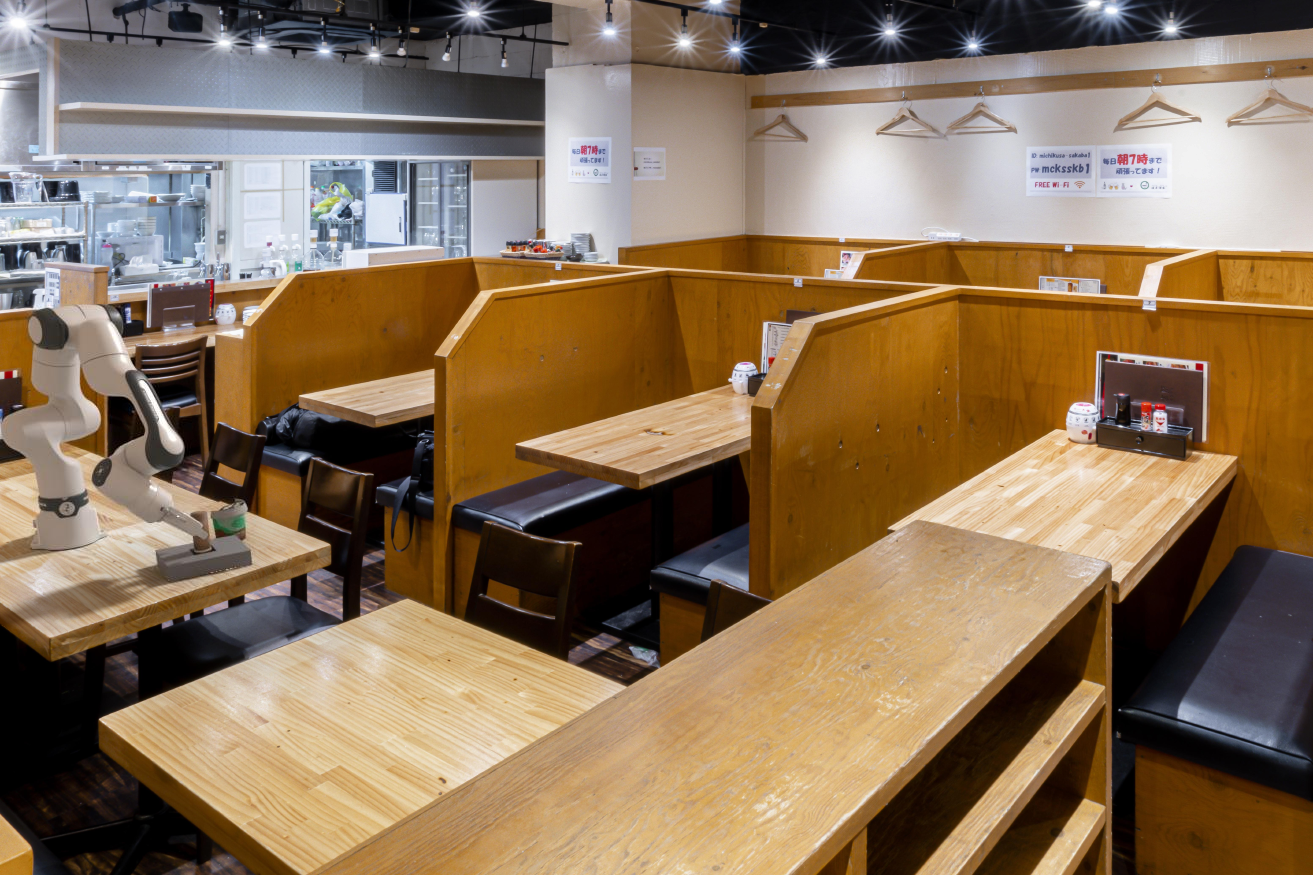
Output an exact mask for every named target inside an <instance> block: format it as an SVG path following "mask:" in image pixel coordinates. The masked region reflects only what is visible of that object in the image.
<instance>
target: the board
mask: <svg viewBox="0 0 1313 875" xmlns="http://www.w3.org/2000/svg"><path fill="white" fill-rule="evenodd" d="M210 543H211V552H209V553H204V554H199V555H195V552H194V543H193V542H190V543H186V544H181V545H175V546H170V547H165V548H159V549H155V558H156V565H157V566H158V567H159V569H160V571H161V572H162V574H164V576H165V578H166V580H167V581H168V582H170V583H171V582H175V581H180V580H184V579H185V578H186V579H189V578H194V577H195V578H196V577H199V576H204V575H203V574H205V575H208V574H207V573H210V574H212V573H211V572H215V573H217V572H216V571H219V572H221V571H220V570H224V571H227V570H226V569H229V570H231V569H230V568H234V569H236V568H235V567H239V568H242V567H241V566H244V567H248V566H253V560H252V559H253V558H252V549H250V548H249V547H248V546H247V545H246V544H245V543H244V542H243V540H242V541H241V540H240V539H239V538H238V537H237V536H236V535H232V536H227V537H222V538H216V537H215V538H212V539H211V538H210ZM247 565H248V566H247Z"/></svg>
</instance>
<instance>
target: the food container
mask: <svg viewBox="0 0 1313 875" xmlns="http://www.w3.org/2000/svg"><path fill="white" fill-rule="evenodd" d="M248 510H249V509H248V506H247V504H246V502H245V500H243V499H239V498H234V502H233V503H231V504H228V505H224V506H222V507H220V509H217V510H211V511H210V519H211V520H212V524H213V525H212V526H213V530H214V535H215V539H216V538H222V537H227V536H232V535H236V536H237V537H238V538H239V539H240V540H241V541H242V542H243V541H244V540H245V539H246V538H247V535H246V534H247V533H246V532H247V530H246V512H247V511H248Z"/></svg>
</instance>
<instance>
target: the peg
mask: <svg viewBox="0 0 1313 875" xmlns="http://www.w3.org/2000/svg"><path fill="white" fill-rule="evenodd" d="M189 516H191V517H192V518H194V519H195V520H197V521H199V522H200V523H201V524H202V525H203V527H202V529H203V530H204V531H205V532H207V533H208V536H207V537H206V539H202V538H200V537H199V536H197V535H196V536H192V541H193V542H192V543H194V552H195V555H199V554H204V553H209V552H211V543H210V540H211V536H210V527H209V526H210V525H209V518H208V512H207V511H206V510H195V511H193V512H190V514H189Z"/></svg>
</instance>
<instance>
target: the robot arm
mask: <svg viewBox="0 0 1313 875" xmlns="http://www.w3.org/2000/svg"><path fill="white" fill-rule="evenodd" d="M26 327H27V333H28V336H29V339H30V341H31V342H32V343H33V349H32V362H31V378H30V381H31V384H32V386H33V387H34V389H35V390H36V391H37V392H39V393H41V394H43V395H45V396H48V401H47V403H45V404H41V405H38V406H33V407H28V408H23V409H20V410H17V411H15V412H12V413H10V414H8V415H7V416H5V417H4V418H3V420H2V422H1V423H0V424H1V425H0V435H1V437H2V440H3V441H4V443H5V444H6V446H8V447H9V448H11V449H12V450H14V451H17V452H19V453H20V454H22V455H23V456H24V457H25V458H26V459H27V460H28V462H29V463H30V464H31V467H32V468H33V472H34V475H35V479H36V483H37V488H38V494H39V495H38V496H37V498H38V499H37V503H38V508H39V511H40V512H39V513H38V515H36V518H35V519H33V520H32V527H33V528H34V529H35V531H34V532H35V534H34V536H33V538H32V540H31V543H30V549H31V548H32V549H31V550H52V551H56V550H57V551H59V550H68V549H69V550H70V549H75V548H79V547H84V546H86V545H90V544H92V543H94V542H96V541H98V540H99V539H102V538H105V537H106V536H108V534H109V533H108V531H107V530H105V529H104V528H101V527H100V524H99V518H98V512H97V509H96V508H95V507H94V506H93V505H91V504H90V503H89V502H90V500H89V493H88V489H86V485H85V480H84V479H85V478H84V472H83V465H82V464H81V462H80V461H79V460H78V459H76V458H74V457H72V456H69V455H66V454H64V453H63V452H62V450H61V447H60V444H63V443H67V442H71V441H77V440H80V439H82V438H85V437H87V436H89V435H92V434H94V433H96V431H98V430H99V428H100V426H101V420H102V417H101V412H100V411H99V408H98V407H97V406H96V405H95V403H93V402H92V401H91V400H89V399H88V398H87V397H85V395H84V394H83V391H82V390H81V384H80V383H81V380H80V378H81V371H82V373H83V375H84V380H86V382H87V385H89V388H90V389H92V390H93V391H95V392H96V393H98V394H100V395H103V396H108V397H124V398H126V399H127V400H129V401H131V404H133V406H134V408H135V410H136V412H137V414H138V416H139V419H140V421H141V422H142V425H143V426H144V435H142V436H140V437H137V438H135V439H133V440H131V441H128V442H126V443H124V444H122V445H120V446H119V447H118V448H115V450H114V452H113V454H112V455H110V456H109V457H105V458H103V459H101V460H100V461H99V462H98V463H97V464H96V466H95V467H94V468H93V472H92V474H91V483H92V485H93V486H94V487H95V489H96V490H97V491H98V492H99V493H100V494H102V495H103V496H105V497H106V498H107V499H108V500H110V501H112V502H113V503H115V504H117V506H122V507H124V508H126V509H127V510H128V511H129V512H130V513H132V514H133V515H134V516H136V517H137V518H139V519H141V520H142V521H144V522H145V523H147V524H154V523H155V522H156V523H161V522H163V523H165V524H168V525H169V526H171V527H174V528H175V529H177V530H179V531H181V532H183V533H185V534H188V535H189V536H192V537H193V536H196V535H197V536H199V537H200V538H202V539H206V537H207V536H208V533H207V532H205V531H204V530H203V529H202V527H203V525H202V524H201V523H200V522H199V521H197V520H195V519H194V518H192V517H191V516H190V514H187V512H184V511H182V510H180V509H178V508H176V507H175V502H174V501H173V495H172V494H171V493H170V492H168V491H167V490H166V489H164V488H162V487H161V486H159V485H158V484H156V483H155V482H153V481H152V480H151V479H152V476H153V475H155V474H157V473H160V472H162V471H165V470H169V469H171V468H175V467H177V466H178V465H180V464H181V463H182V461H183V459H184V455H185V444H184V441H183V438H182V436H181V435H180V434H179V433H178V431H177V430H176V428H175V427H174V426H173V424H172V422H171V420H170V418H169V416H168V415H167V412H166V410H165V408H164V407H163V404H162V403H161V400H160V398H159V396H158V394H157V392H156V390H155V389H154V386H153V385H152V383H151V381H150V379H149V378H148V376H146V374H145V373H144V372H142V371H140V370H138V369H137V368H136V367H135V365H134V364H133V362H132V359H131V358H130V354H129V351H128V349H127V346H126V343H125V341H124V340H123V337H122V335H123V334H124V333H123V332H124V321H123V317H122V315H121V314H120V312H119V311H118V310H117V309H116V307H114V306H112V305H110V304H102V303H97V304H82V303H81V304H72V305H63V306H57V307H51V308H50V307H43V308H39V309H36V310H34V311H32V313H31V314H30V316H29V317H28V319H27V326H26Z"/></svg>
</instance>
